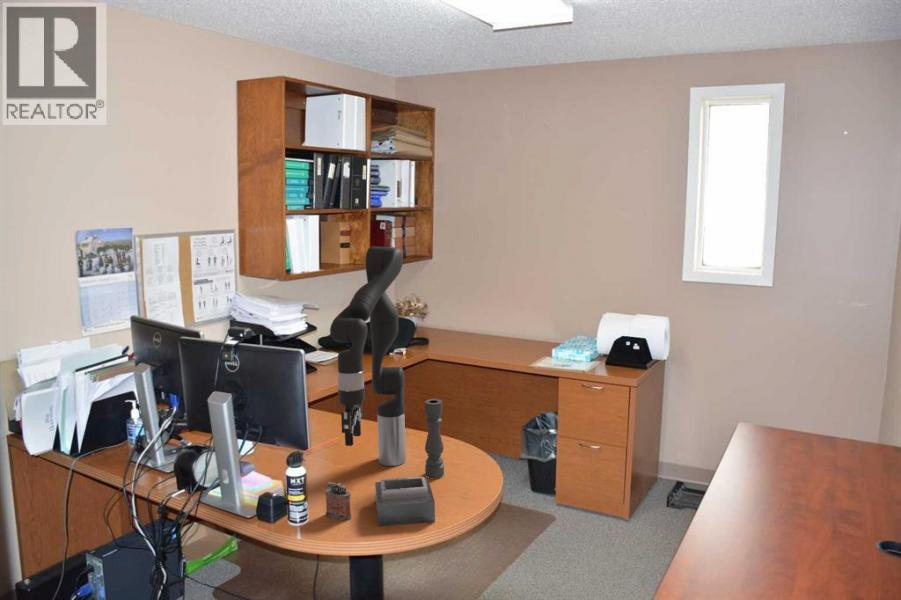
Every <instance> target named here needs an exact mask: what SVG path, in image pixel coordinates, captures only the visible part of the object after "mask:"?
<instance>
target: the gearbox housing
mask: <svg viewBox="0 0 901 600" xmlns="http://www.w3.org/2000/svg"><path fill="white" fill-rule="evenodd" d="M374 487H375V489H374V490H375V492H374V493H375V507H376V508H375V509H376V518H377V527H386V526H387V527H389V526H399V525H400V526H401V525H410V524H426V523H434V522H436V507H435V506H436V503H435V502H436V501H435V499H434V495H433V491H432V488H431V485H430V481H429V478H426V476H416V477H415V476H414V477H413V476H412V477H400V478H399V477H398V478H385V479H384V478H383V479H380V481H377V482H375V484H374Z"/></svg>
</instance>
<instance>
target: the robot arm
mask: <svg viewBox="0 0 901 600" xmlns="http://www.w3.org/2000/svg"><path fill="white" fill-rule="evenodd" d="M403 261H404V257H403V253H402V251H401V250H400V249H399V248H396V247H390V246H389V247H387V246H376V245H375V246H372V245H371V246H370V247H369V248H367V251H366V253H365V273H366V280H367V282H366V283H365V284H364V285H362V286H361V287H360V288H359V289H358V290H357V291H356V292H355V293H354V295H353V296H352V299H351V300H350V303H349V304H348V305H347V306H346V307H345V308H344V309H343V310H342V311H341V312H340V313H339V314H337V316H336V317H335V318H334V319H333V320H332V322H331V325H330V328H329V335H330V337H331V339H332V340H334V341H335V342H337V343H346V344H347V343H348V344H349V343H350V344H351V347H350V349H345V350H344V349H343V350H342V351H340V352H339V353H337V369H338V370H337V372H338V373H337V394H338V396H337V397H338V403H339V404H340V405H343V406H344V410H343V411H341V414H340V415H341V416H340V417H341V433H342V434H344V443H345V444H344V445H345V446H346V447H352V446H353V445H354V437H360V436H361V435H362V426H361V424H362V420H363V418H364V414H363V411H364V410H363V403H365V398H366V395H365V394H366V393H365V376H364V371H363V369H364V368H363V367H364V365H363V362H364V361H363V356H364V349H365V346H366V345H365V344H366V340H367V336H368V325H367V323H366V321H368V320H369V323H370V325H369V328H370V337H371V338H370V339H371V340H370V341H371V353H372V354H371V356H372V357H371V387H372V391H373V393H374V394H375V395H382V396H383V395H385V396H386V395H388V396H389V395H394V396H393V397H391V398H390V399H388V400H385V401H382V402H380V403H379V404H378V405H377V408H376V411H377V412H376V413H377V414H376V415H377V437H378V438H377V445H378V447H377V448H378V449H377V450H378V463H379V464H380V465H382V466H387V467H395V466H400V465H403V464H404V463H405V462H406V427H405V425H406V423H405V422H406V420H405V419H406V418H405V372H404V368H402V367H401V366H382V363H383V361H384V358H385V356H386V354H387V352H388V351H389V349H390V348H391V346H392V345H393V343H394V342H395V340H396V338H397V336H398V334H399V312H398V310H397V308H396V306H395V304H394V302H393V301H392V300H391V298H390V297H389V295H388V293H387V292H386V291H387V290H388V288H390V286H391V284H392V283H393V282H394V281H395V280H396V279H397V277H398V276H399V275H400V272H401V270H402V268H403Z"/></svg>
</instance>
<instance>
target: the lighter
mask: <svg viewBox="0 0 901 600" xmlns="http://www.w3.org/2000/svg"><path fill="white" fill-rule="evenodd" d="M326 487H327V489H325V490H324V494H325V503H326V504H325V506H326V511H325V516H326V517H328V518H330V517H331V518H330V519H335V520H338V519H339V521H349V520H351V519H352V513H351V492H350V491H347V485H345V484H343V483H341V482H338V483H336V482H331V481H328V482H327V483H326Z"/></svg>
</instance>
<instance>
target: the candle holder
mask: <svg viewBox="0 0 901 600" xmlns="http://www.w3.org/2000/svg"><path fill="white" fill-rule="evenodd" d="M424 412H425V415H426V417H427V418H426V419H425V423H426V424H427V435H426V436H427V437H426V441H425V446H424V451H425V453H426V455H427V459H426V460H425V464H424V465H425V467H424V471H425V472H424V473H425V475H426V476H427V477H429V478H428V479H430V478H438V479H441V478H440V477H442V476H443V475H444V476H445V464H444V459H442V454H443V452H444V448H445V447H444V443H443V440H442V436H441V423H442V422H443V419H442V418H441V415H442V413H443V400H441V399H438V398H430V399H426V400H424ZM425 475H424V476H425ZM426 476H425V477H426ZM444 476H443V477H444ZM427 477H426V478H427ZM443 477H442V478H443Z"/></svg>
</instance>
